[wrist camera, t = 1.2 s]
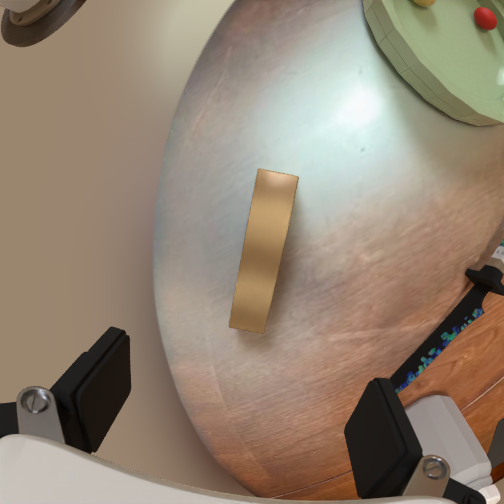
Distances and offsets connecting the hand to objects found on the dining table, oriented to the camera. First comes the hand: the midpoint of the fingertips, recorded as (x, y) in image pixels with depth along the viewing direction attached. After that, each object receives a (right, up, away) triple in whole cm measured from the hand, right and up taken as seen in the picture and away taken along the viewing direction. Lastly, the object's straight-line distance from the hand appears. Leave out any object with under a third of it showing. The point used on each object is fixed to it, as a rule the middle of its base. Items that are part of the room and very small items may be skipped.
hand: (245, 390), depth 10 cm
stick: (+1, +5, +16) cm, 17 cm away
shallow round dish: (+21, +27, +8) cm, 35 cm away
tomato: (+25, +30, +7) cm, 39 cm away
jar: (+23, -17, +21) cm, 35 cm away
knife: (+22, 0, +16) cm, 27 cm away
